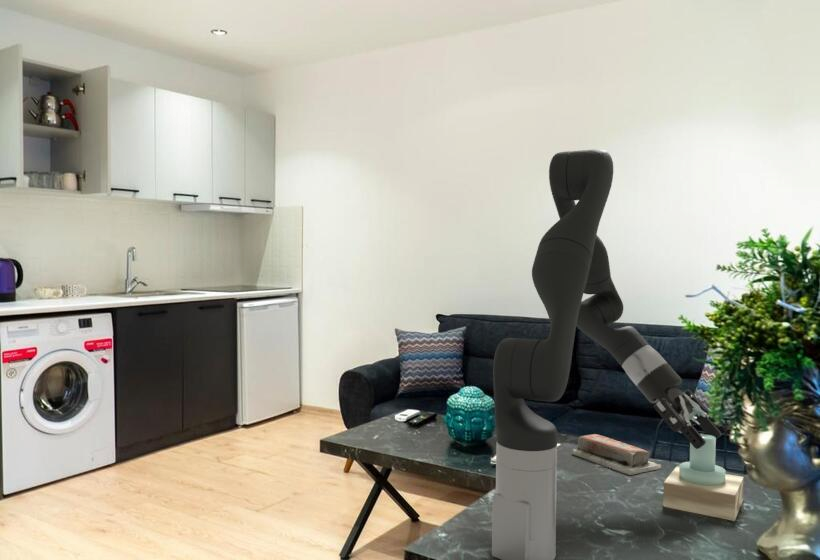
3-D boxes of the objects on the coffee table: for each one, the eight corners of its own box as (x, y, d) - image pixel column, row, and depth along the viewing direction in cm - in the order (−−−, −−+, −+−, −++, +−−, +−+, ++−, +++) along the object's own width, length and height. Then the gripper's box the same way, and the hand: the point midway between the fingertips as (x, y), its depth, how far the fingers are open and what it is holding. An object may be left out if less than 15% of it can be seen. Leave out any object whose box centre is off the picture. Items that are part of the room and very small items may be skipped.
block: (734, 523, 115) (735, 495, 115) (663, 509, 122) (663, 482, 121) (743, 502, 125) (743, 476, 125) (676, 490, 132) (677, 465, 132)
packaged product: (570, 435, 155) (600, 430, 160) (570, 455, 155) (600, 450, 160) (630, 455, 139) (662, 448, 144) (630, 477, 139) (662, 470, 144)
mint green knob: (717, 489, 118) (718, 445, 118) (672, 478, 123) (673, 436, 123) (730, 478, 124) (731, 436, 124) (687, 468, 129) (688, 428, 129)
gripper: (649, 365, 123) (712, 437, 115) (678, 358, 133) (737, 423, 126) (622, 389, 127) (681, 461, 119) (652, 380, 137) (708, 445, 130)
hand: (709, 441), depth 123 cm, fingers open, 8 cm apart
